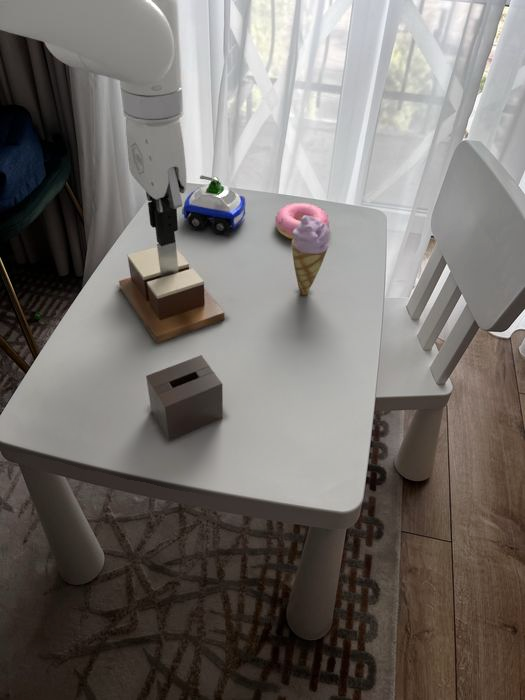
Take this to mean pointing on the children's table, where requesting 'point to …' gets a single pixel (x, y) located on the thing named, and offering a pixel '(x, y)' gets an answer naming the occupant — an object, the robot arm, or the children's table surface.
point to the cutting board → (175, 323)
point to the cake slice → (176, 293)
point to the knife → (166, 249)
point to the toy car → (214, 207)
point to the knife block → (185, 397)
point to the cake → (149, 268)
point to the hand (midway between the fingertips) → (164, 227)
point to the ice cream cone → (309, 250)
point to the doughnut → (297, 217)
